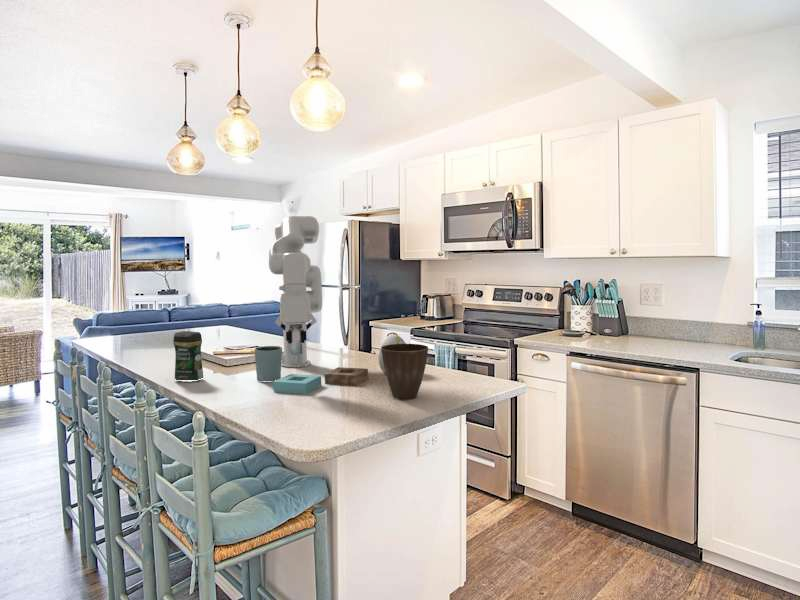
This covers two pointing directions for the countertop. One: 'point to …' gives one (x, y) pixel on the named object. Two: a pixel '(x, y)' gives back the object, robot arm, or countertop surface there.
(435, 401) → the countertop surface
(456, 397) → the countertop surface
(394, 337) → the decorative egg
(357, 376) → the mount block
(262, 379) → the grey-blue cup
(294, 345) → the pin
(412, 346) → the plant pot
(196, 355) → the coffee jar
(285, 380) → the socket block
